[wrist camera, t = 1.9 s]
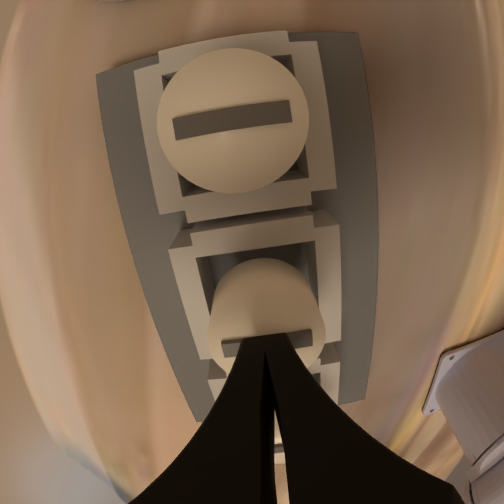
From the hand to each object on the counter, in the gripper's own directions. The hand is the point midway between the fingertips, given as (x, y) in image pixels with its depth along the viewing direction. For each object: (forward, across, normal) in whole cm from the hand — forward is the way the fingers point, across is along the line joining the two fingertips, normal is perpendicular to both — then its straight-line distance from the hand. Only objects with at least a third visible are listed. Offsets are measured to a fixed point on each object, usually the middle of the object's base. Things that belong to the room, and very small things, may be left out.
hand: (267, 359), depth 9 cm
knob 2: (+3, 0, 0) cm, 3 cm away
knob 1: (+3, 0, -7) cm, 8 cm away
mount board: (+8, 0, 0) cm, 8 cm away
